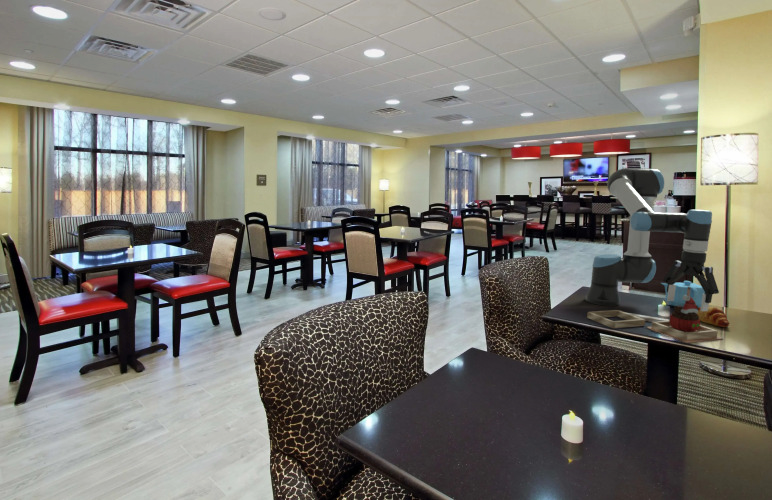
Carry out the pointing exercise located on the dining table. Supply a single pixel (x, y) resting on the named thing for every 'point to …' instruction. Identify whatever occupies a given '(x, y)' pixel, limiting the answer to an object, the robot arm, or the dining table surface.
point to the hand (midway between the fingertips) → (686, 305)
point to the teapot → (685, 293)
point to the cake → (685, 315)
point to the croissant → (713, 317)
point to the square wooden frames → (653, 325)
